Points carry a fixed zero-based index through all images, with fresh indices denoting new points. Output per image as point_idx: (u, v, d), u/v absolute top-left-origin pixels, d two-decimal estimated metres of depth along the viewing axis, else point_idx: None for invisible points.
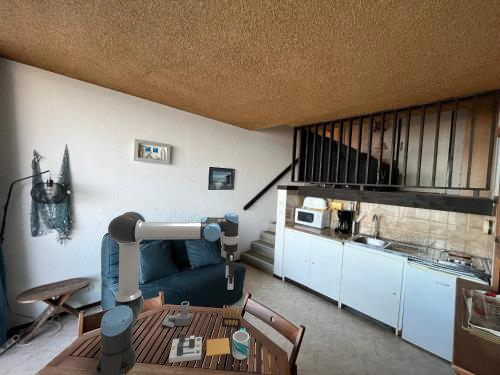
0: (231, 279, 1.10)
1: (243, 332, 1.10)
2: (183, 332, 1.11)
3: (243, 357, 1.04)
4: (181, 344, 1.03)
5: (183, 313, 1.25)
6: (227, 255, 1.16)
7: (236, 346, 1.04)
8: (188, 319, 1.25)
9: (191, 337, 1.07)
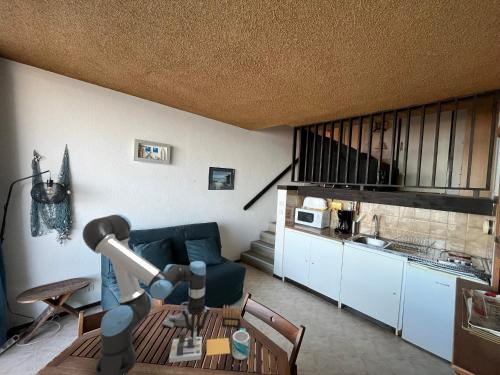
0: (191, 332, 1.07)
1: (243, 332, 1.10)
2: (183, 332, 1.11)
3: (243, 357, 1.04)
4: (181, 344, 1.03)
5: None
6: None
7: (236, 346, 1.04)
8: None
9: (189, 337, 1.07)
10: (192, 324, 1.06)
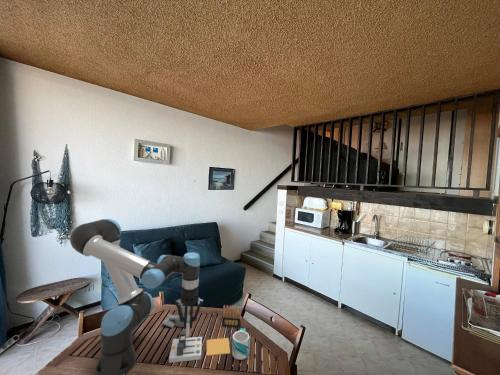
0: (184, 323, 1.06)
1: (243, 332, 1.10)
2: (183, 332, 1.11)
3: (243, 357, 1.04)
4: (181, 344, 1.03)
5: (183, 314, 1.24)
6: None
7: (236, 346, 1.04)
8: None
9: (182, 338, 1.06)
10: (185, 315, 1.05)
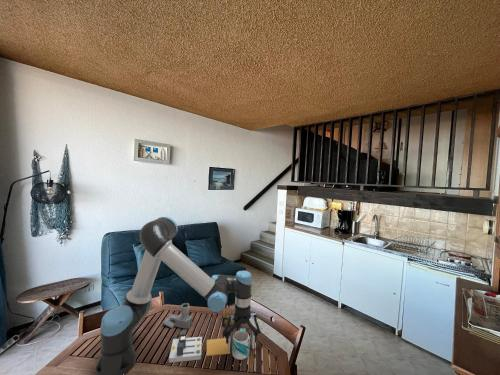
0: (226, 338, 1.08)
1: (243, 332, 1.10)
2: (183, 332, 1.11)
3: (243, 357, 1.04)
4: (181, 344, 1.03)
5: (183, 315, 1.23)
6: None
7: (236, 346, 1.04)
8: (187, 322, 1.22)
9: (182, 338, 1.06)
10: (230, 331, 1.07)
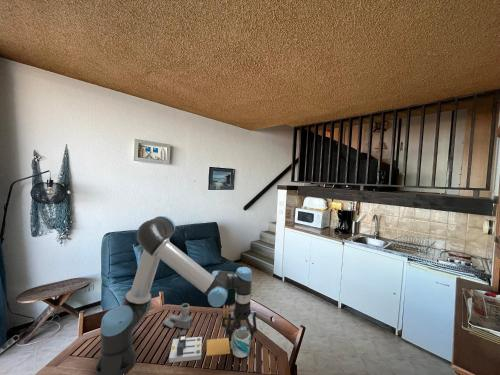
0: (229, 336, 1.08)
1: (244, 330, 1.10)
2: (183, 332, 1.11)
3: (243, 355, 1.04)
4: (181, 344, 1.03)
5: (182, 315, 1.23)
6: None
7: (237, 344, 1.04)
8: (187, 322, 1.22)
9: (182, 338, 1.06)
10: (233, 328, 1.07)
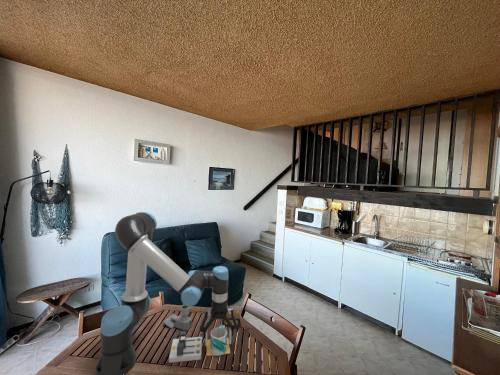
0: (203, 333, 1.09)
1: (221, 329, 1.11)
2: (183, 332, 1.11)
3: (220, 353, 1.05)
4: (181, 344, 1.03)
5: (182, 316, 1.22)
6: None
7: (213, 342, 1.05)
8: (186, 324, 1.21)
9: (182, 338, 1.06)
10: (207, 326, 1.08)
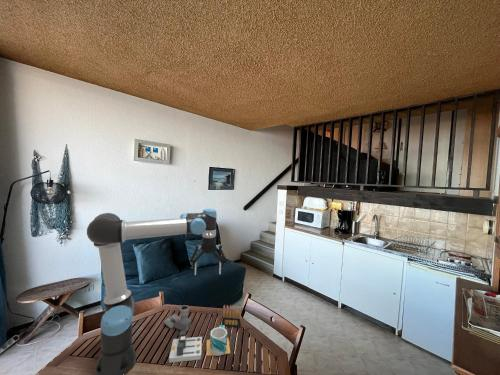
0: None
1: (221, 329, 1.11)
2: (183, 332, 1.11)
3: (220, 353, 1.05)
4: (181, 344, 1.03)
5: (181, 317, 1.21)
6: None
7: (213, 342, 1.05)
8: (184, 325, 1.20)
9: (182, 338, 1.06)
10: (197, 258, 1.24)
